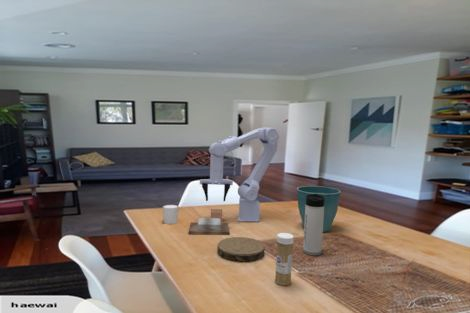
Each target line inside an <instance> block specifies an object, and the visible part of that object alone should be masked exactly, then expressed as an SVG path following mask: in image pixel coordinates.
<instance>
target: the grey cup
mask: <svg viewBox="0 0 470 313" xmlns="http://www.w3.org/2000/svg"><path fill="white" fill-rule="evenodd" d="M162 215H163V223H164V224H166V225H174V224H177V222H178V217H179V205H176V204H165V205H163V206H162Z"/></svg>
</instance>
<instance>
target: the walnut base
mask: <svg viewBox="0 0 470 313" xmlns="http://www.w3.org/2000/svg"><path fill="white" fill-rule="evenodd" d="M229 227H230V226H229V222H222V223H221V222H220V218H211V217H198V221H196V222H195V221H194V222H192V221H191V222H190V223H189V228H188V235H204V236H207V235H208V236H209V235H210V236H212V235H214V236H216V235H217V236H218V235H220V236H230V228H229Z"/></svg>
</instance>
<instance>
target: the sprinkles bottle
mask: <svg viewBox="0 0 470 313" xmlns="http://www.w3.org/2000/svg"><path fill="white" fill-rule="evenodd" d="M294 238H295V237H294V235H293V234H292V233H286V232H280V233H279V232H278V233H277V236H276V244H277V245H276V259H275V276H274V282H275V283H276V284H278V285H280V286H288V285H289V286H290V284H291V283H292V268H293V248H294V247H293V245H294V241H295V240H294Z"/></svg>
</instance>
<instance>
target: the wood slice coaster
mask: <svg viewBox="0 0 470 313" xmlns="http://www.w3.org/2000/svg"><path fill="white" fill-rule="evenodd" d="M216 252H217V255H218V256H219V257H220V258H221V259H223V260H226V261H230V262H233V263H253V262H256V261H260V260H261V259H263V258H264V257H265V244H264V243H263V242H261V241H260V240H259V239H258V240H257V239H254V238H251V237H245V236H244V237H241V236H234V237H227V238H224V239H222V240H221V239H220V240H219V241H218V243H217V251H216Z"/></svg>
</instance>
